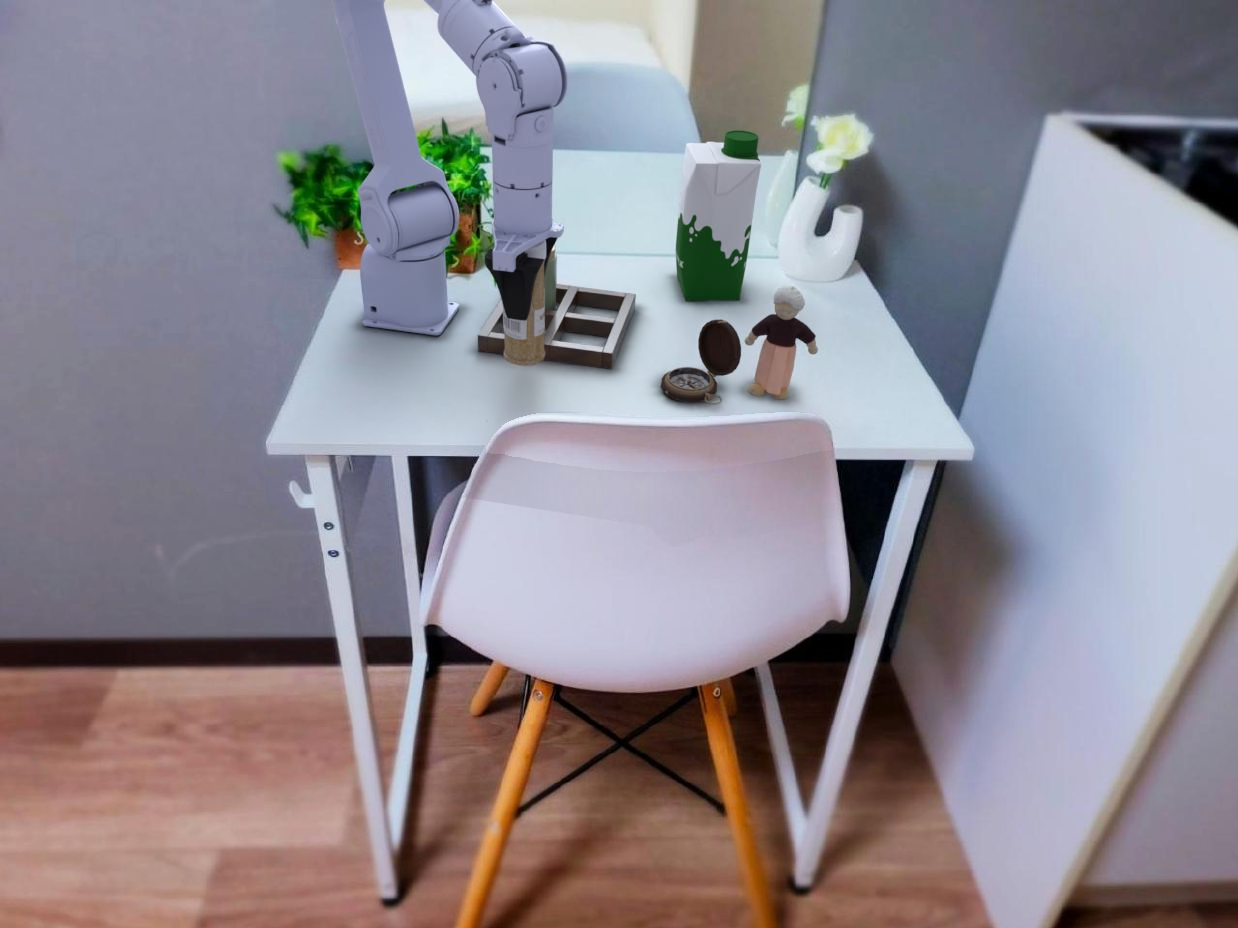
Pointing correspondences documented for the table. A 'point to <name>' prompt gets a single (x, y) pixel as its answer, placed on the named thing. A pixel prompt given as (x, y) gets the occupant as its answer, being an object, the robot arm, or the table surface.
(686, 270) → the milk carton
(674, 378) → the compass
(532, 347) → the sprinkles bottle
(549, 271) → the spice jar
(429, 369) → the table surface
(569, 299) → the holder
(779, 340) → the grandmother figurine
